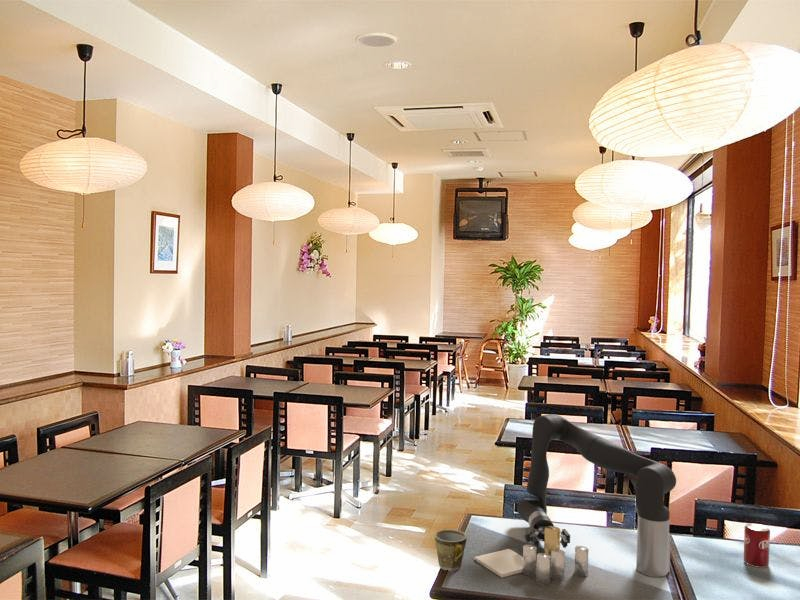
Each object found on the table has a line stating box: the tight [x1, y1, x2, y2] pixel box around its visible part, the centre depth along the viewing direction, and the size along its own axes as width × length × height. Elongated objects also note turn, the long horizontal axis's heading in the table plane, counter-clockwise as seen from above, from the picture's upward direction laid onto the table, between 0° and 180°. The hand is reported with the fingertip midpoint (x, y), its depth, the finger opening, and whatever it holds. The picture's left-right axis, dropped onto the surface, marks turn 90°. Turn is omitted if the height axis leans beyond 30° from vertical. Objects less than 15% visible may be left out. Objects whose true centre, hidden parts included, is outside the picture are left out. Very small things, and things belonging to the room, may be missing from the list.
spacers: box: [522, 544, 589, 586], centre depth 204 cm, size 18×12×8 cm, turn 120°
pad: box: [474, 548, 537, 578], centre depth 210 cm, size 14×14×1 cm
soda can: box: [743, 522, 771, 568], centre depth 214 cm, size 7×7×12 cm
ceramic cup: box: [434, 528, 468, 572], centre depth 206 cm, size 13×10×10 cm
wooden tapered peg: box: [543, 525, 561, 570], centre depth 209 cm, size 5×5×12 cm
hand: (551, 544), depth 210 cm, fingers open, 8 cm apart
